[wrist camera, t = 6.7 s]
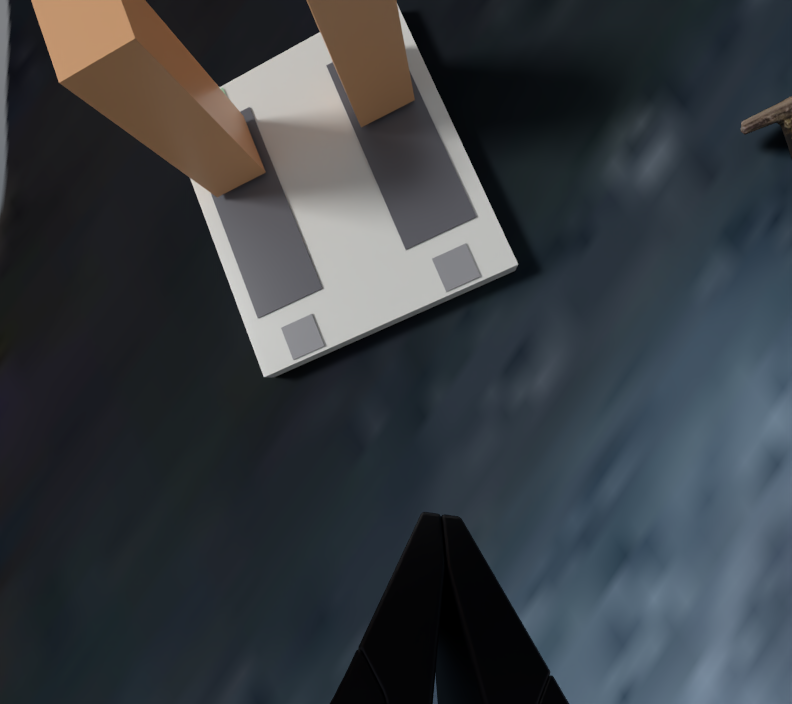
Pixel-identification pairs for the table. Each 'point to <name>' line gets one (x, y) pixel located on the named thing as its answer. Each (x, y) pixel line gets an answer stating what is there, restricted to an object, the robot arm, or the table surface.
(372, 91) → the tab
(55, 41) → the tab
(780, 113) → the brown ringed piece
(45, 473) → the table surface
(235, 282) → the switch bank
